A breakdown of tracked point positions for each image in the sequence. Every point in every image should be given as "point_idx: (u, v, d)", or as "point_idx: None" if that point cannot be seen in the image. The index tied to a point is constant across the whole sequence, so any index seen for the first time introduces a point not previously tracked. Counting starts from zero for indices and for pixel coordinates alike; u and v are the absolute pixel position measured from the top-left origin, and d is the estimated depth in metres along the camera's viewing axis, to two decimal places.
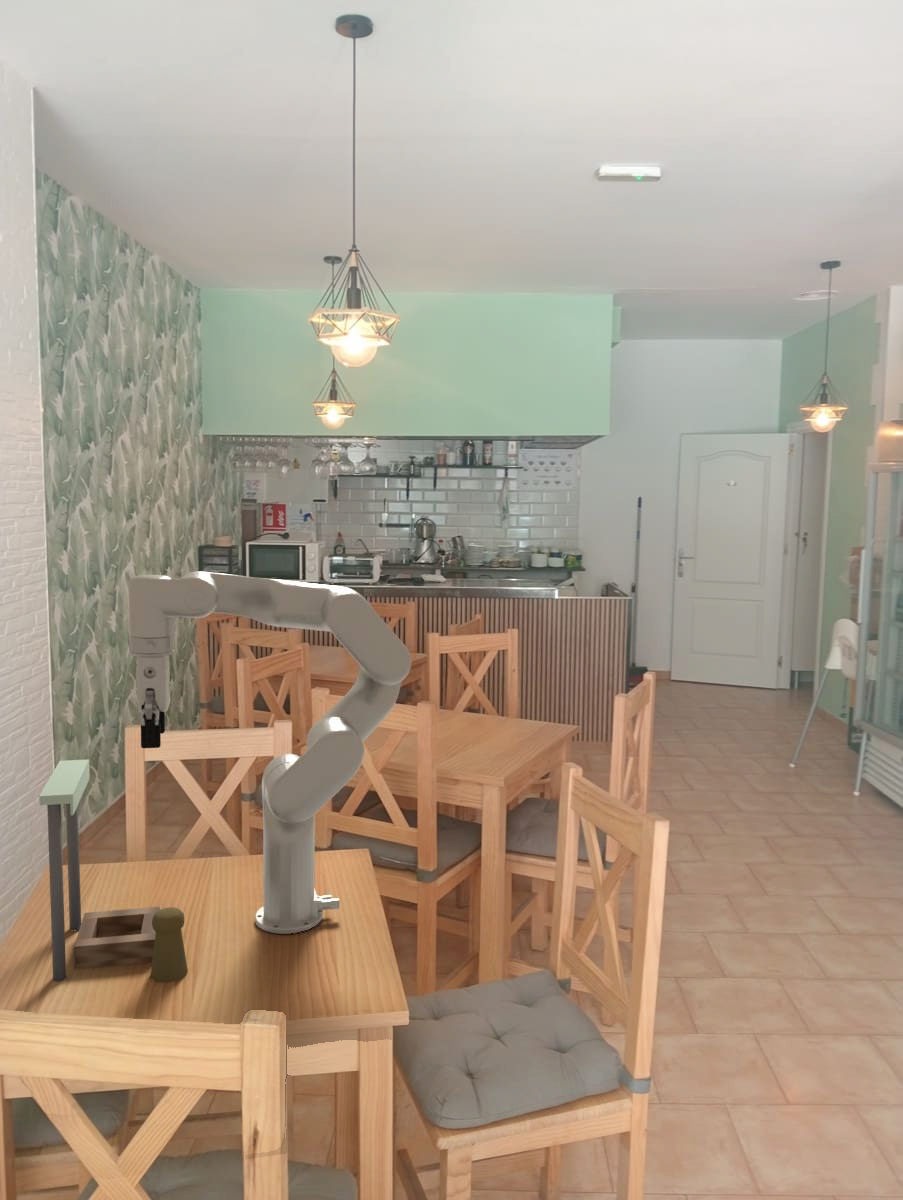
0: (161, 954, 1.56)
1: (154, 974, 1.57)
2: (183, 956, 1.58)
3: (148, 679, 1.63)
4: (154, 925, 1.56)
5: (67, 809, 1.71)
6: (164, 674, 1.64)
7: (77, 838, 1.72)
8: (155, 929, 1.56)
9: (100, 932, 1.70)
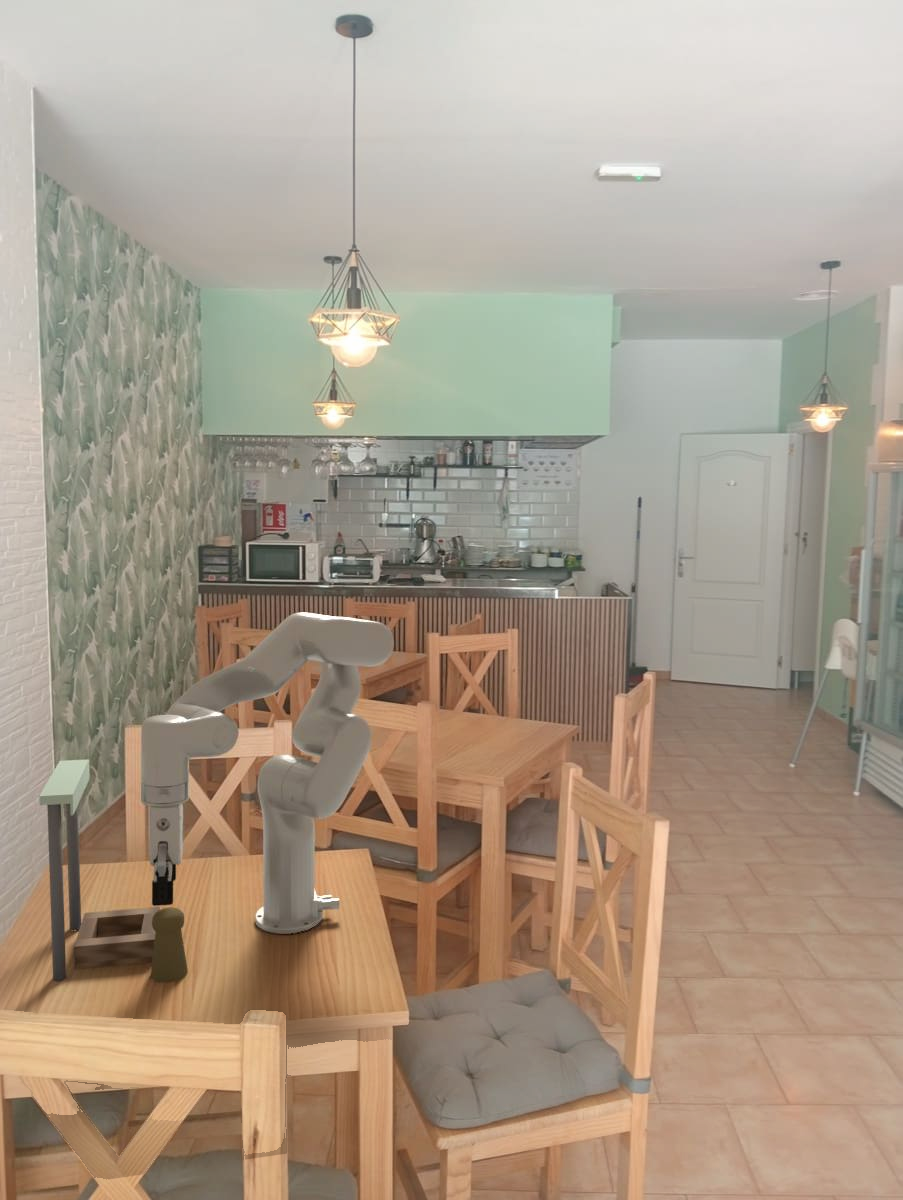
0: (161, 954, 1.56)
1: (154, 974, 1.57)
2: (183, 956, 1.58)
3: (161, 831, 1.51)
4: (154, 925, 1.56)
5: (67, 809, 1.71)
6: (178, 825, 1.52)
7: (77, 838, 1.72)
8: (155, 929, 1.56)
9: (100, 932, 1.70)
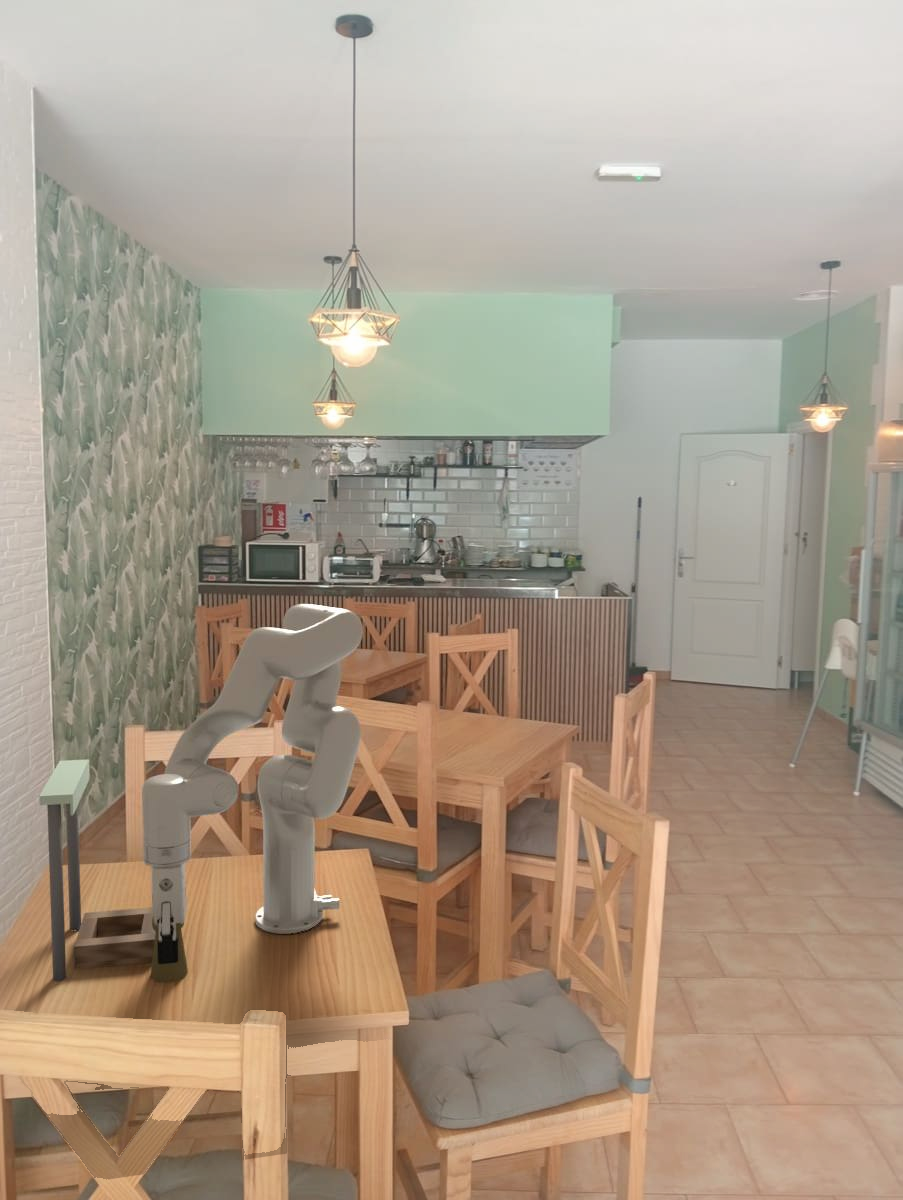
0: None
1: (154, 974, 1.57)
2: (183, 956, 1.58)
3: (164, 892, 1.52)
4: (154, 925, 1.56)
5: (67, 809, 1.71)
6: (181, 885, 1.53)
7: (77, 838, 1.72)
8: (155, 929, 1.56)
9: (100, 932, 1.70)
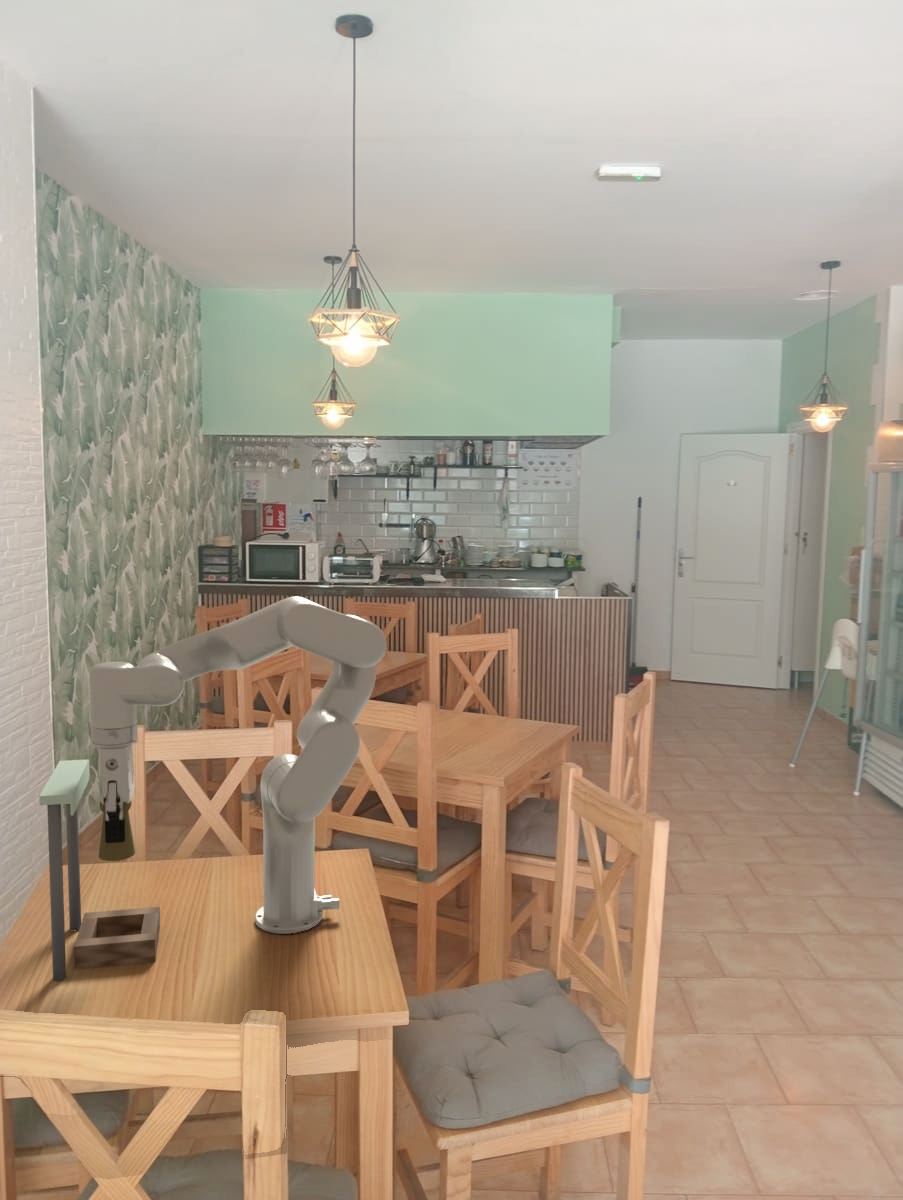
0: None
1: (102, 853, 1.63)
2: (130, 837, 1.65)
3: (110, 771, 1.59)
4: (101, 806, 1.62)
5: (67, 809, 1.71)
6: (127, 765, 1.60)
7: (77, 838, 1.72)
8: (102, 810, 1.63)
9: (100, 932, 1.70)
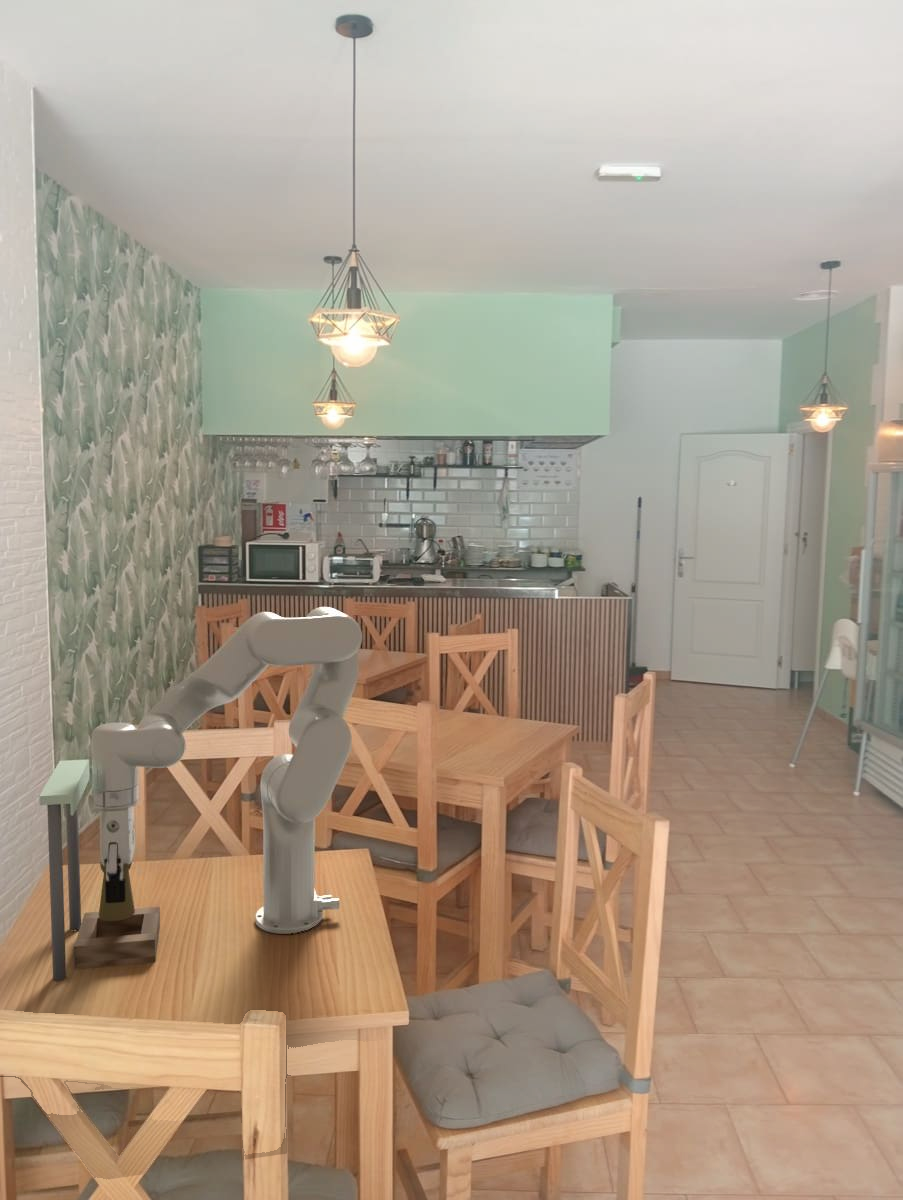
0: None
1: (102, 913, 1.64)
2: (130, 896, 1.66)
3: (111, 833, 1.60)
4: (102, 866, 1.64)
5: (67, 809, 1.71)
6: (127, 827, 1.61)
7: (77, 838, 1.72)
8: (103, 870, 1.64)
9: (100, 932, 1.70)
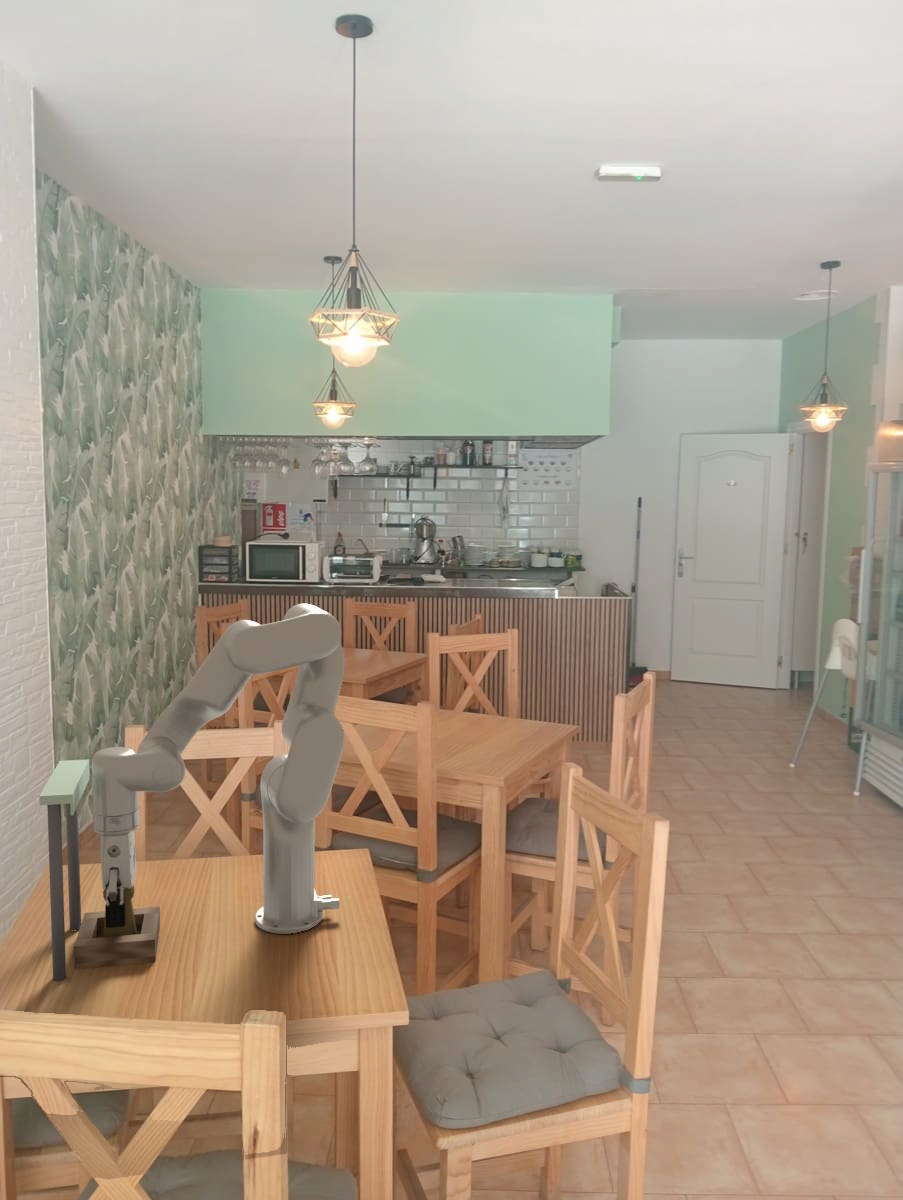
0: None
1: None
2: (133, 925, 1.67)
3: (112, 858, 1.61)
4: (105, 895, 1.64)
5: (67, 809, 1.71)
6: (128, 852, 1.62)
7: (77, 838, 1.72)
8: None
9: (100, 932, 1.70)
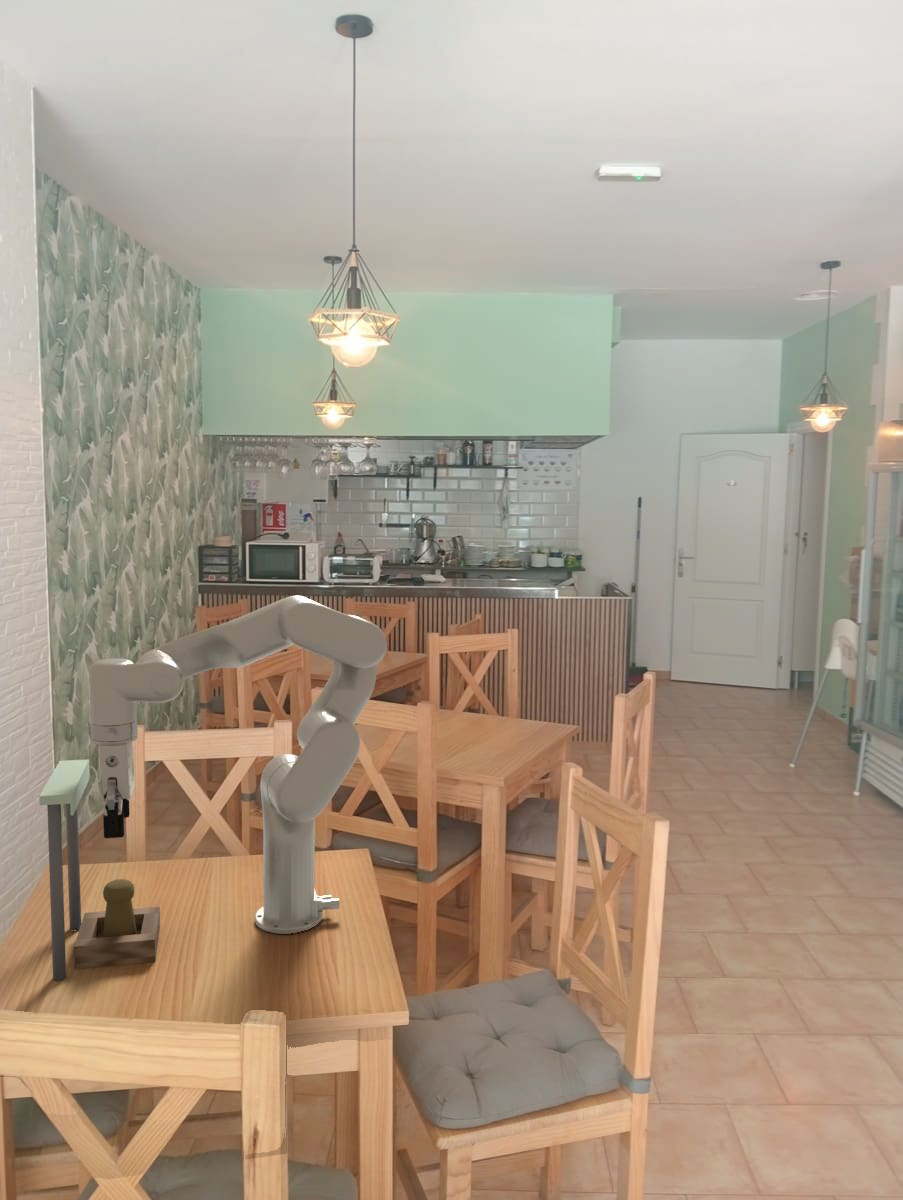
0: (111, 923, 1.65)
1: None
2: (133, 925, 1.67)
3: (110, 768, 1.59)
4: (105, 895, 1.64)
5: (67, 809, 1.71)
6: (127, 762, 1.60)
7: (77, 838, 1.72)
8: (106, 899, 1.65)
9: (100, 932, 1.70)
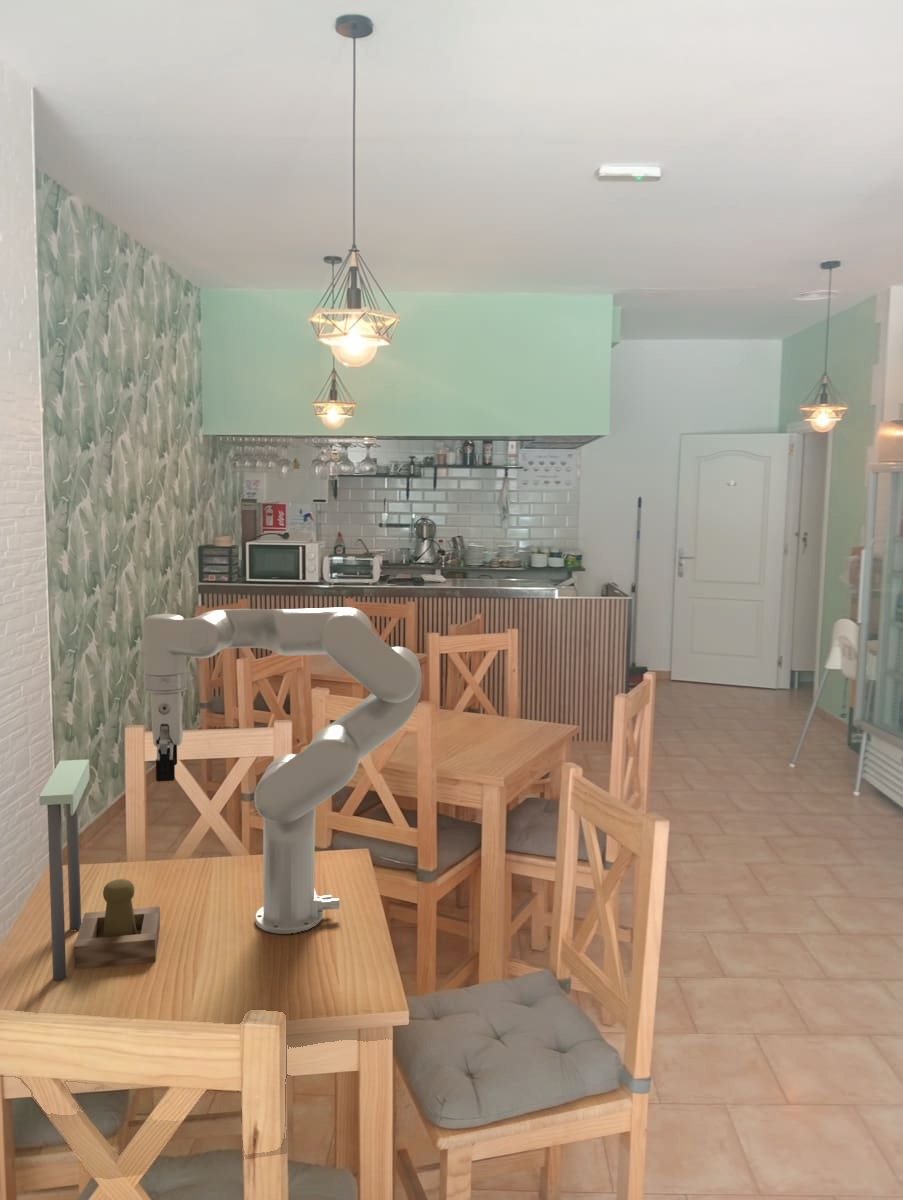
0: (111, 923, 1.65)
1: None
2: (133, 925, 1.67)
3: (162, 715, 1.70)
4: (105, 895, 1.64)
5: (67, 809, 1.71)
6: (178, 710, 1.71)
7: (77, 838, 1.72)
8: (106, 899, 1.65)
9: (100, 932, 1.70)
